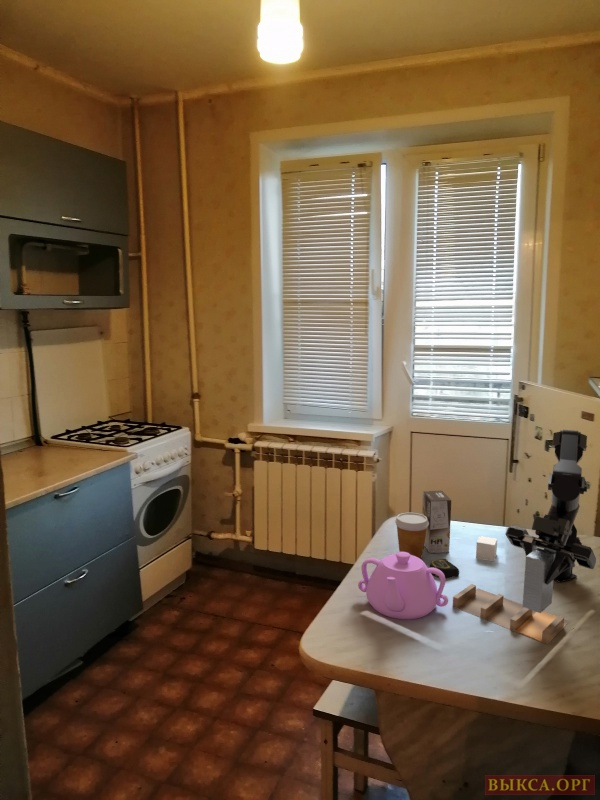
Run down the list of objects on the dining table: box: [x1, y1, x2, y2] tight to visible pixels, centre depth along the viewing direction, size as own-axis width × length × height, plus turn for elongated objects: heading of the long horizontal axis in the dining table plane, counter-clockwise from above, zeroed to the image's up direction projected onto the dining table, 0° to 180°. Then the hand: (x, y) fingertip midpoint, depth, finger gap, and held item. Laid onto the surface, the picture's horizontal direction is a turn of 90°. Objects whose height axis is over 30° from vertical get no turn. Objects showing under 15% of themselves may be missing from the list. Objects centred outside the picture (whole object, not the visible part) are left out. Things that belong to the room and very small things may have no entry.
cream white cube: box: [475, 535, 498, 562], centre depth 176 cm, size 5×5×5 cm
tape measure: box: [428, 558, 460, 579], centre depth 164 cm, size 7×7×4 cm
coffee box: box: [421, 490, 452, 554], centre depth 181 cm, size 9×6×16 cm
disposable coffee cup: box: [394, 512, 429, 560], centre depth 174 cm, size 10×10×12 cm
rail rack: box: [452, 583, 570, 645], centre depth 143 cm, size 12×23×4 cm, turn 46°
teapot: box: [357, 551, 449, 620], centre depth 145 cm, size 22×22×14 cm
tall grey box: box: [522, 547, 555, 613], centre depth 135 cm, size 6×4×12 cm, turn 136°
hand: (536, 580), depth 134 cm, fingers closed on tall grey box, 4 cm apart
